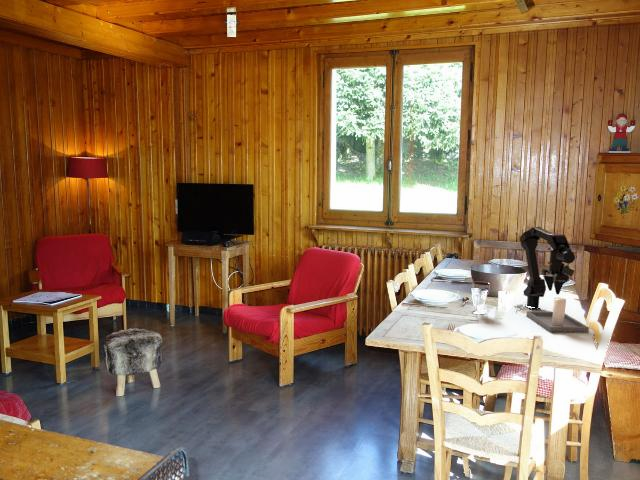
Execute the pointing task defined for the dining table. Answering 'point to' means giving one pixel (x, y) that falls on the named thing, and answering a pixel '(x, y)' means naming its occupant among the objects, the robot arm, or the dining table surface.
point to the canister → (558, 312)
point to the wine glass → (481, 286)
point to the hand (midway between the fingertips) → (553, 292)
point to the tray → (568, 327)
